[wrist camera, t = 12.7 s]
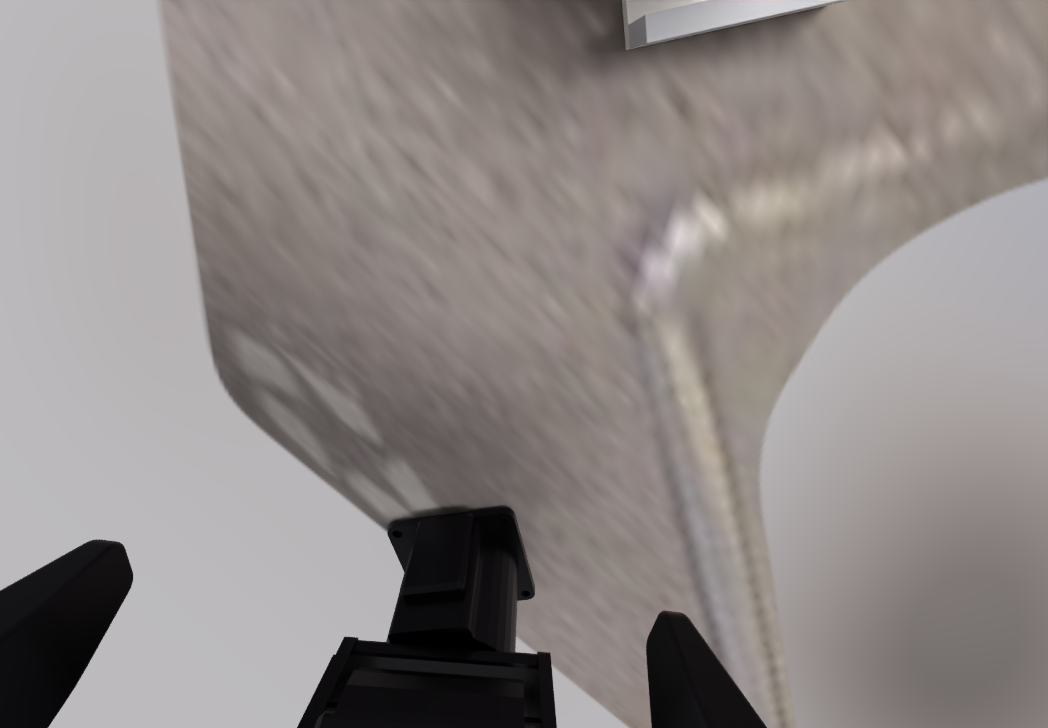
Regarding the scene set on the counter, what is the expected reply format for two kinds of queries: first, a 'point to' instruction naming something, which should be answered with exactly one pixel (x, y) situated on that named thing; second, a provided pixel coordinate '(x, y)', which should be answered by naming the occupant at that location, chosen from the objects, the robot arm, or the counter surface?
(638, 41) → the white railed tray
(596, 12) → the counter surface
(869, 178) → the counter surface
